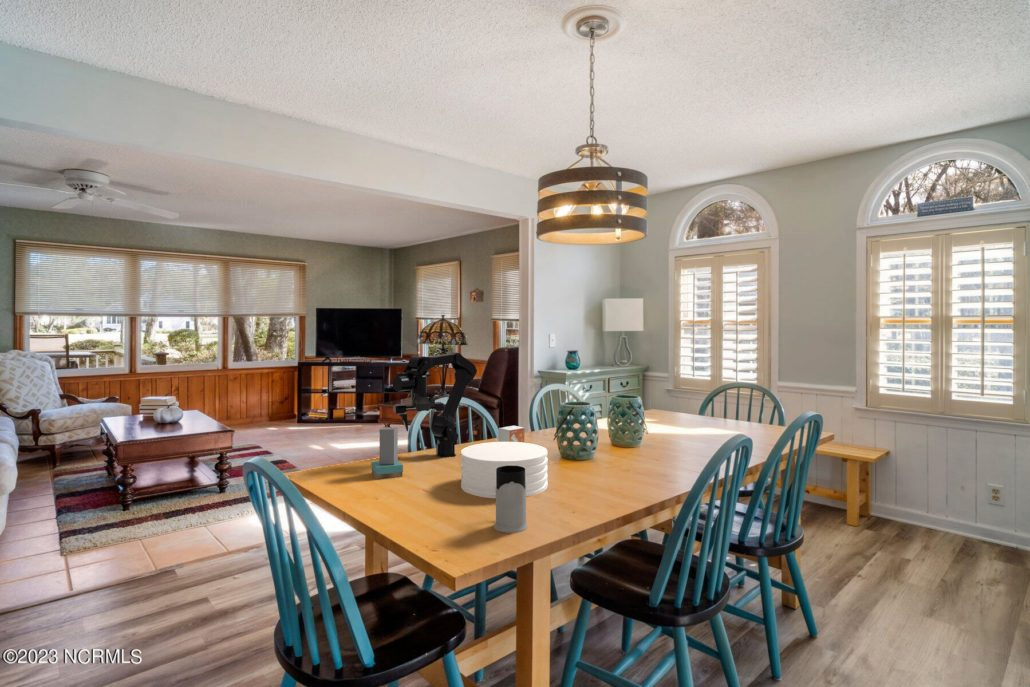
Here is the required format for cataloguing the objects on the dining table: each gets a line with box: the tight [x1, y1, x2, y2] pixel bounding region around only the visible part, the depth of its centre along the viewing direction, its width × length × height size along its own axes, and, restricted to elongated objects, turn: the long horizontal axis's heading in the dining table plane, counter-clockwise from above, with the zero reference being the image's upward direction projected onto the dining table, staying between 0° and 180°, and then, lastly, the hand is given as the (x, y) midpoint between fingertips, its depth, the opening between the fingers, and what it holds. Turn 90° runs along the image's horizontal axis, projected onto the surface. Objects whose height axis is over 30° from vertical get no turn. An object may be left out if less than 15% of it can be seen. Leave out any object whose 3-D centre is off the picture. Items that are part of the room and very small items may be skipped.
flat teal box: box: [371, 469, 403, 481], centre depth 198 cm, size 9×9×2 cm
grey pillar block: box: [379, 426, 399, 465], centre depth 198 cm, size 5×5×12 cm
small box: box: [497, 425, 525, 443], centre depth 216 cm, size 8×6×13 cm
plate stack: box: [460, 441, 549, 499], centre depth 185 cm, size 28×28×12 cm
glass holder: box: [493, 466, 529, 534], centre depth 150 cm, size 9×14×15 cm, turn 5°
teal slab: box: [370, 460, 404, 475], centre depth 198 cm, size 9×9×2 cm
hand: (419, 430), depth 216 cm, fingers open, 9 cm apart
